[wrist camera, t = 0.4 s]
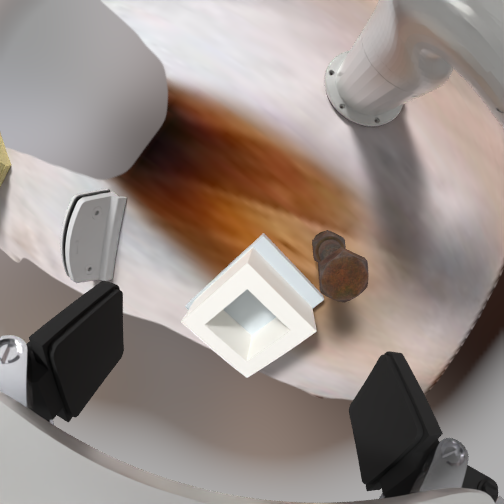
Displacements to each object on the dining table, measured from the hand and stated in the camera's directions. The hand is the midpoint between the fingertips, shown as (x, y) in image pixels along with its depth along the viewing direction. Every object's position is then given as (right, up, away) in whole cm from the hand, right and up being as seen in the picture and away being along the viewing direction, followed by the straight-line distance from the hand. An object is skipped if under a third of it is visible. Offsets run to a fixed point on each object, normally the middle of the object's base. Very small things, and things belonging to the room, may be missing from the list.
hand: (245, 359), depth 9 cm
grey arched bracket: (-27, +7, +36) cm, 46 cm away
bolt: (+11, +5, +32) cm, 35 cm away
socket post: (0, -4, +36) cm, 36 cm away
